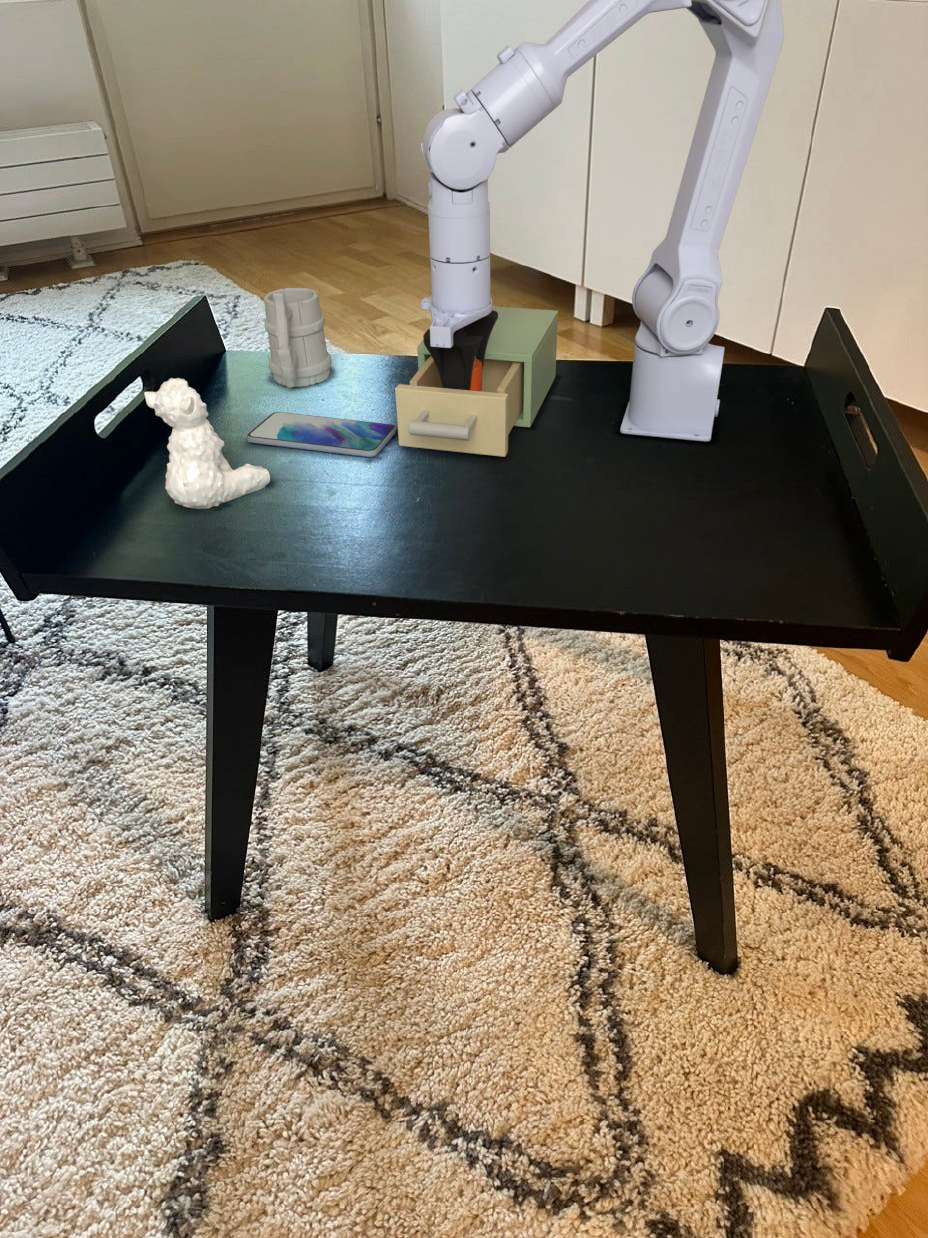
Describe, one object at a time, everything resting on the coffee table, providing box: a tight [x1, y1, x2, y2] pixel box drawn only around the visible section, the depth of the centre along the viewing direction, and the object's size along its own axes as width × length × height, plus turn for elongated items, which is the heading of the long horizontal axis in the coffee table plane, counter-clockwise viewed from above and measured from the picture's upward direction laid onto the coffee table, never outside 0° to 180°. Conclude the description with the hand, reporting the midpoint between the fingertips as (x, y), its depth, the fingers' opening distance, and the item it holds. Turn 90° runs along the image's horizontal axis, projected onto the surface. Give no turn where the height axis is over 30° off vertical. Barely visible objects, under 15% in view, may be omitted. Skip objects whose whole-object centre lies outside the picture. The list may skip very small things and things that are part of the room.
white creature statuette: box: [143, 377, 271, 510], centre depth 84 cm, size 10×9×12 cm
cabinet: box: [416, 305, 559, 428], centre depth 102 cm, size 15×13×8 cm
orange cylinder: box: [470, 356, 482, 392], centre depth 92 cm, size 4×4×5 cm
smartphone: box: [246, 411, 398, 458], centre depth 97 cm, size 7×1×15 cm
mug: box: [263, 287, 333, 388], centre depth 106 cm, size 8×12×12 cm, turn 178°
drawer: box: [394, 356, 524, 458], centre depth 93 cm, size 18×11×6 cm, turn 164°
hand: (463, 391), depth 93 cm, fingers closed on orange cylinder, 4 cm apart
